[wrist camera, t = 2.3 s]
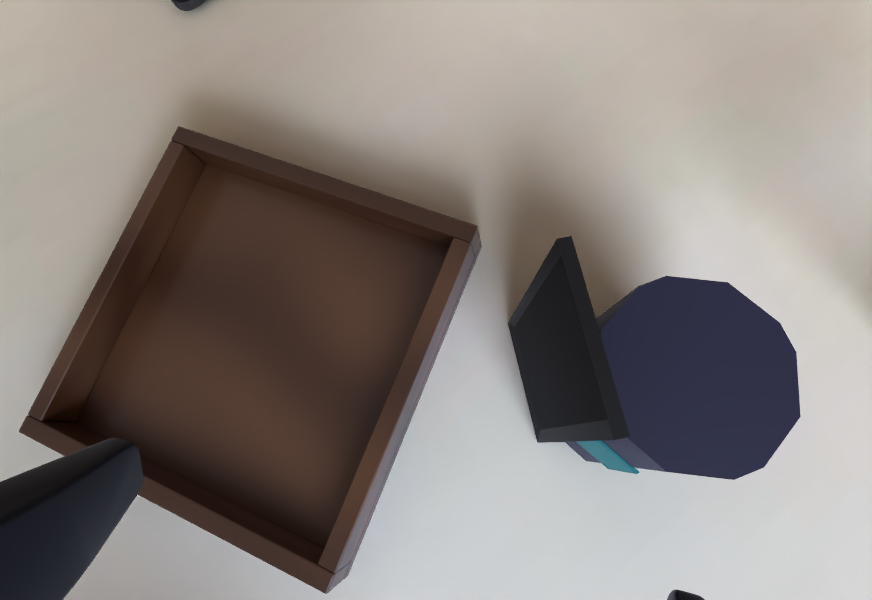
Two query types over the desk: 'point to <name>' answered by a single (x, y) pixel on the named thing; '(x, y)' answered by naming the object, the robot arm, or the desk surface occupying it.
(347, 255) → the tray
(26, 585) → the robot arm
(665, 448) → the speaker
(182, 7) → the smartphone
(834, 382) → the desk surface
